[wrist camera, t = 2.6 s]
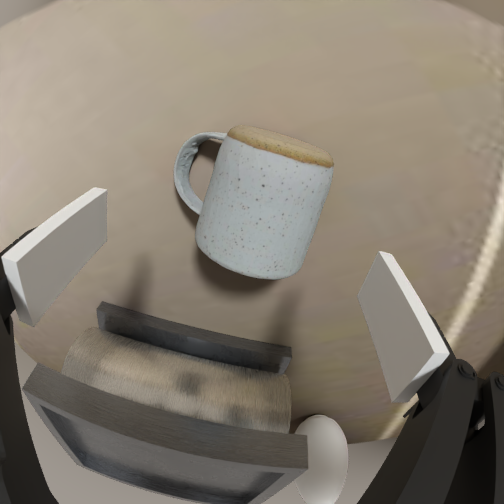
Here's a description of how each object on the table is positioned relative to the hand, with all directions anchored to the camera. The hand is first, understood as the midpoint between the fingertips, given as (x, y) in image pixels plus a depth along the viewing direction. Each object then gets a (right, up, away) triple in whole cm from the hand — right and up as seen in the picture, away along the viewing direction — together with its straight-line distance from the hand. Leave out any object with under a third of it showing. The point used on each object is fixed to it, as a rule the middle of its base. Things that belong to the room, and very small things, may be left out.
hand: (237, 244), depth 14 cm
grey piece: (-7, -12, +19) cm, 24 cm away
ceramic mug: (0, +5, +9) cm, 11 cm away
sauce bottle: (+10, -24, +24) cm, 36 cm away
